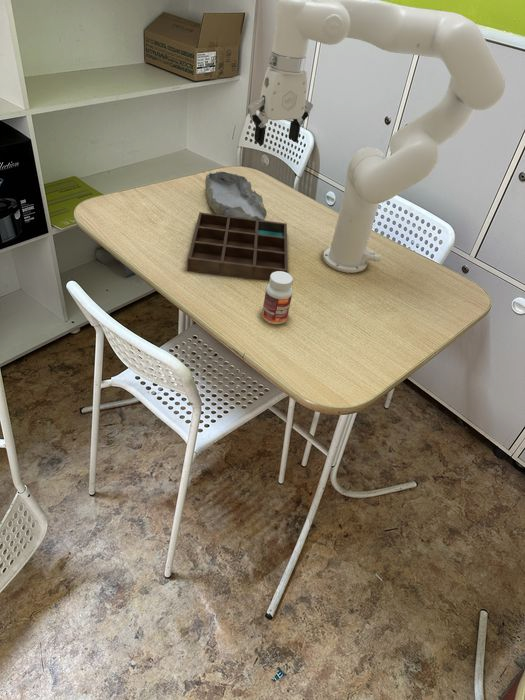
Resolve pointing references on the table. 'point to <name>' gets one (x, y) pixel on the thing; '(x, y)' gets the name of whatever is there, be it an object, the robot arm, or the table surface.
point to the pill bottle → (277, 298)
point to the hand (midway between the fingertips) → (276, 141)
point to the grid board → (238, 247)
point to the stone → (233, 196)
